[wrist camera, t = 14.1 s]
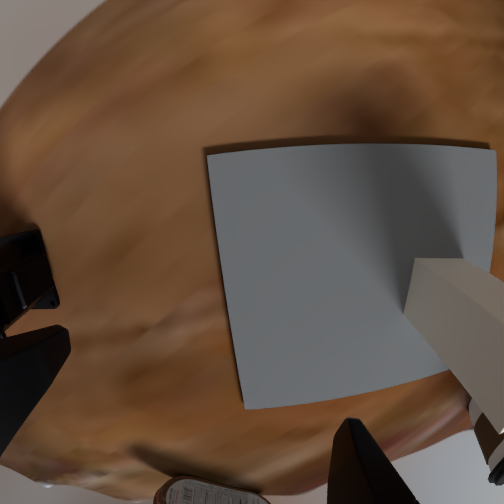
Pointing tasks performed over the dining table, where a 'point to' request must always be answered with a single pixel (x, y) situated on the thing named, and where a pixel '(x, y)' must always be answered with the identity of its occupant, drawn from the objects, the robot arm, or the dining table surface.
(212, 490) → the tin
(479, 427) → the coffee cup
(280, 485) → the dining table surface
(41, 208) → the dining table surface
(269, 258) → the mat
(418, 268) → the card box
